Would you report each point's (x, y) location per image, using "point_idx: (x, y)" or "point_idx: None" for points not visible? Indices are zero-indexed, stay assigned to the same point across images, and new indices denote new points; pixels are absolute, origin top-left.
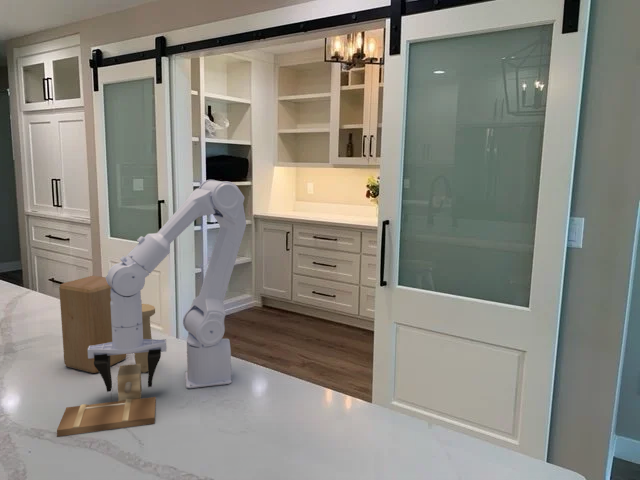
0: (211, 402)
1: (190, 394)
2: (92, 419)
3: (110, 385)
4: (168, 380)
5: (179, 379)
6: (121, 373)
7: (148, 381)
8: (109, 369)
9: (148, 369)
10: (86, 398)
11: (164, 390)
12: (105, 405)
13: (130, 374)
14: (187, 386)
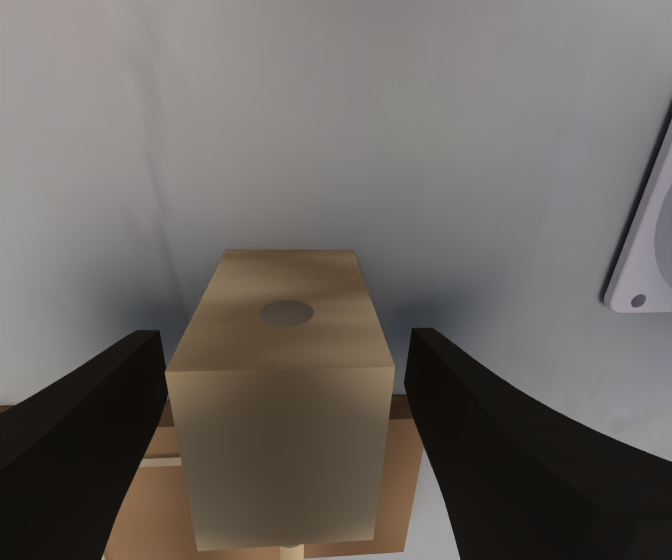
0: (641, 436)
1: (592, 356)
2: (150, 537)
3: (154, 415)
4: (539, 144)
5: (610, 151)
6: (223, 516)
7: (418, 423)
8: (78, 484)
9: (456, 537)
10: (10, 269)
11: (482, 283)
12: (176, 458)
13: (304, 540)
14: (614, 308)
